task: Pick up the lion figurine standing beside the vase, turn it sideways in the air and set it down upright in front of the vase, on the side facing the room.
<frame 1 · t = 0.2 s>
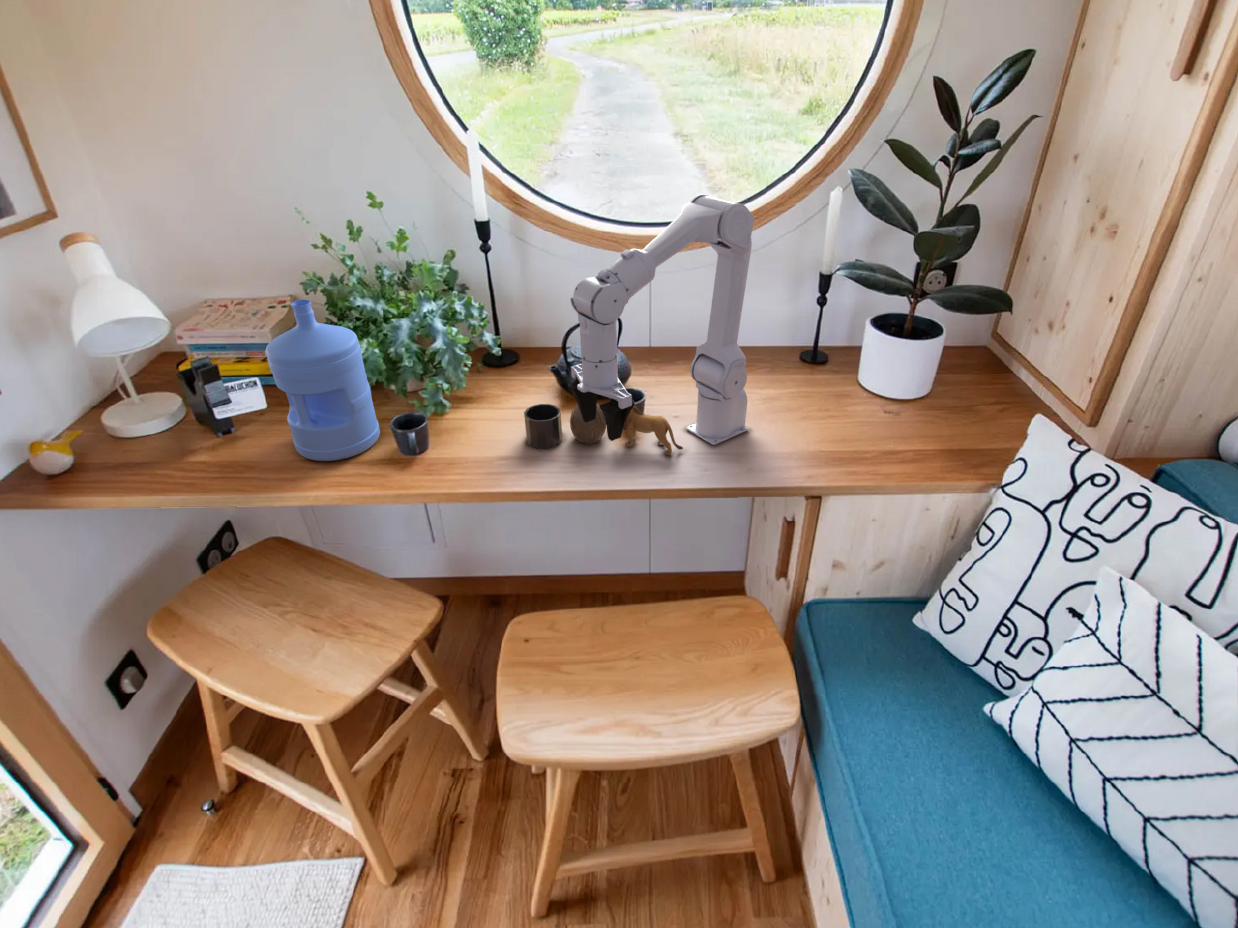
hand: (601, 429, 116), 10 cm above the table, tool pointing down, fingers open, 7 cm apart
water jug: (339, 442, 133), on the table
vase: (588, 439, 133), on the table
tea cup: (544, 439, 133), on the table
lion figurine: (642, 446, 130), on the table
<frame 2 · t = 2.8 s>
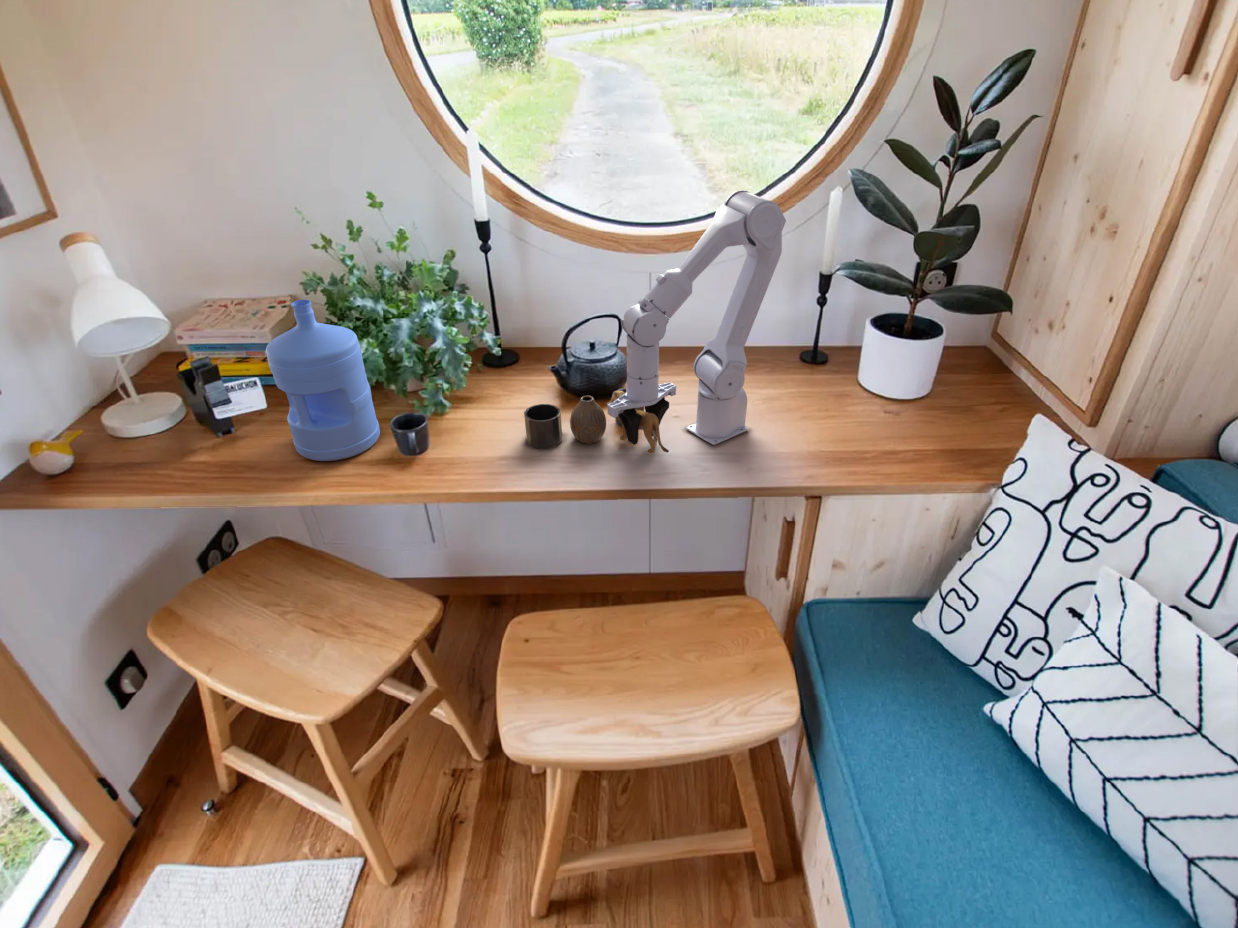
hand: (642, 438, 129), 2 cm above the table, tool pointing down, fingers closed on lion figurine, 4 cm apart
lion figurine: (634, 443, 130), on the table, touching gripper
everything else where it was.
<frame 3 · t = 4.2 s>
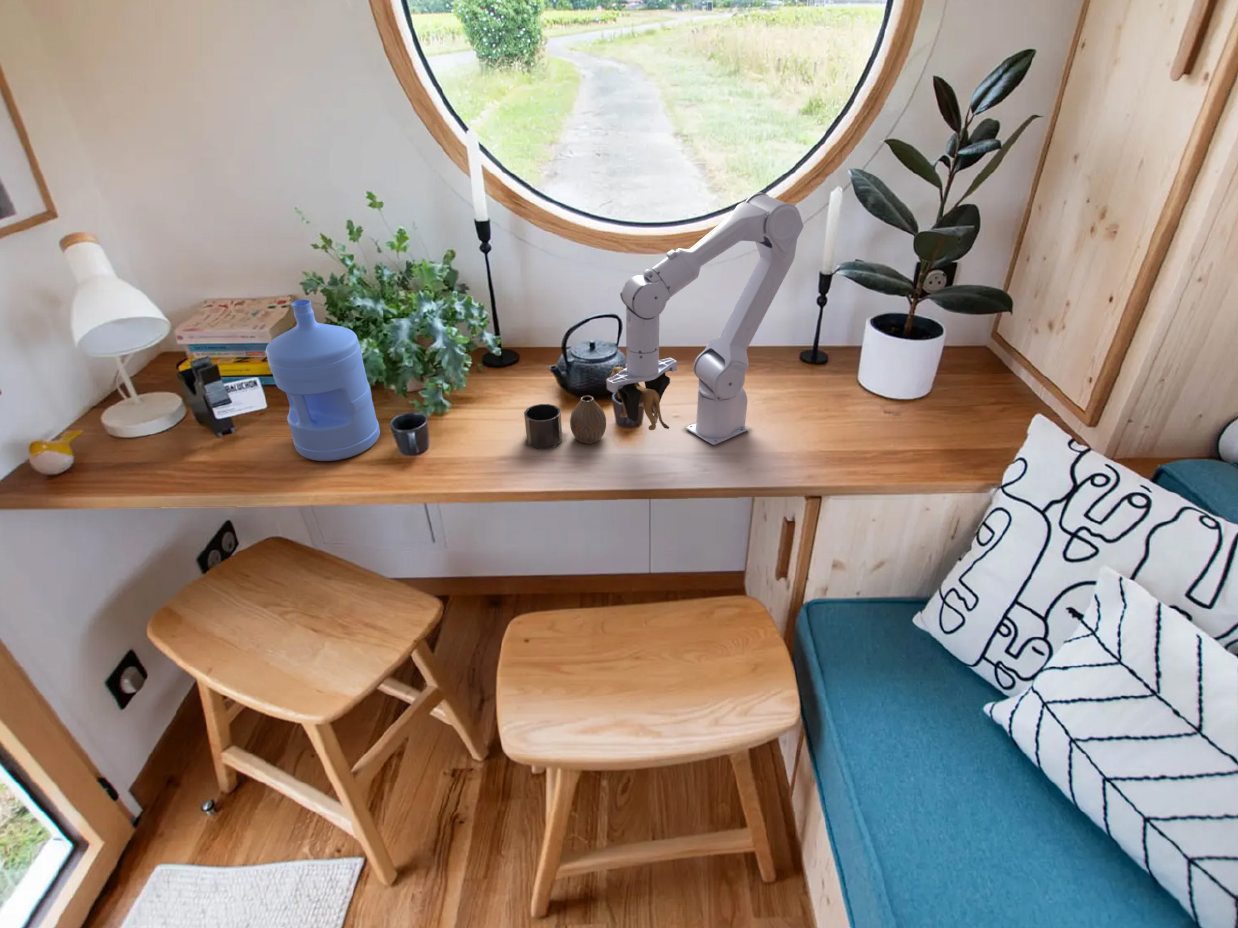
hand: (642, 415, 126), 7 cm above the table, tool pointing down, fingers closed on lion figurine, 4 cm apart
lion figurine: (634, 421, 127), point 5 cm above the table, touching gripper
everything else where it was.
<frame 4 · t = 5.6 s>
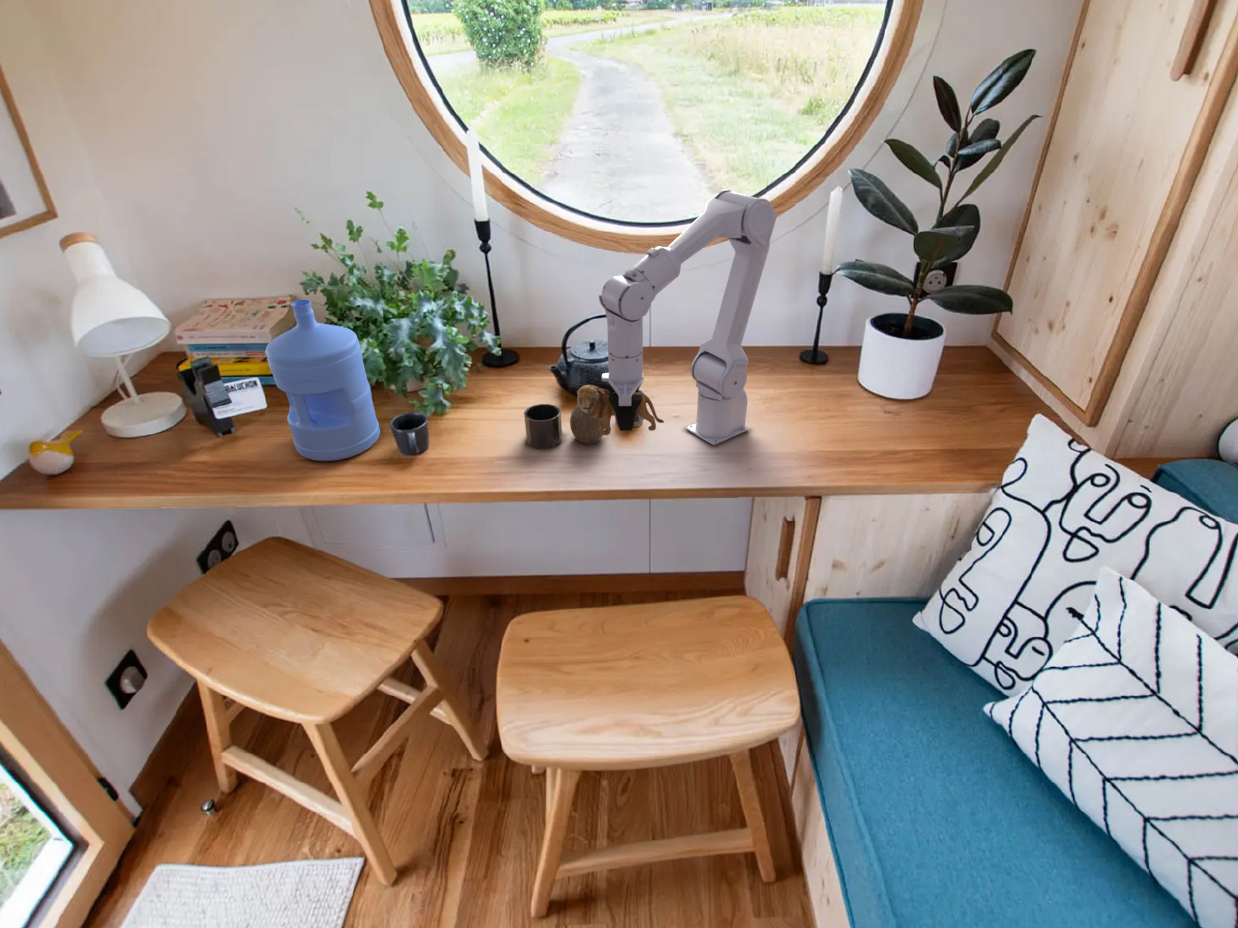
hand: (626, 423, 120), 9 cm above the table, tool pointing down, fingers closed on lion figurine, 4 cm apart
lion figurine: (620, 432, 119), point 8 cm above the table, touching gripper
everything else where it was.
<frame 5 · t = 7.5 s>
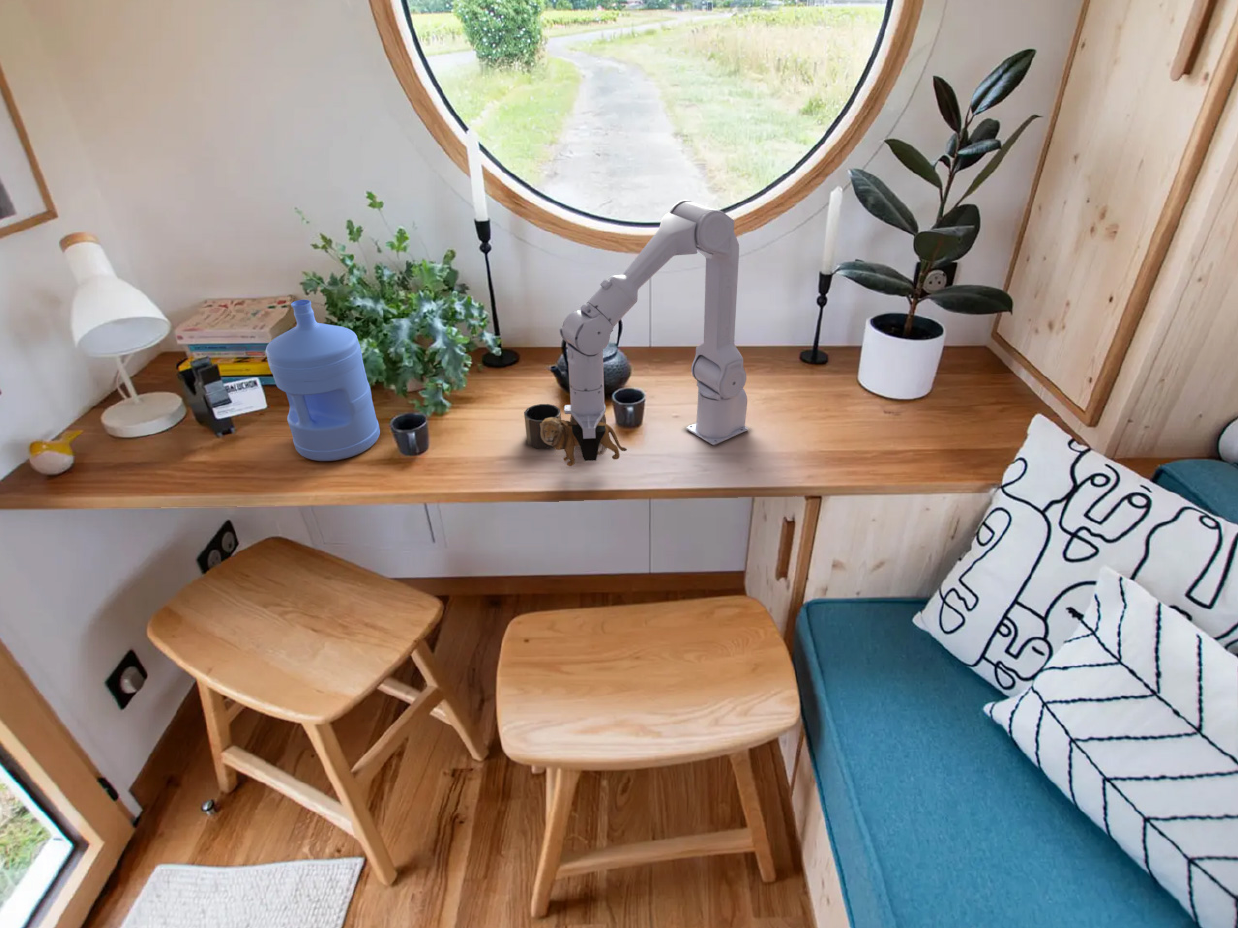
hand: (589, 452, 121), 4 cm above the table, tool pointing down, fingers closed on lion figurine, 4 cm apart
lion figurine: (584, 462, 121), point 3 cm above the table, touching gripper
everything else where it was.
when the fingers open (2 cm above the table, at t = 8.6 s): lion figurine stays where it is, on the table.
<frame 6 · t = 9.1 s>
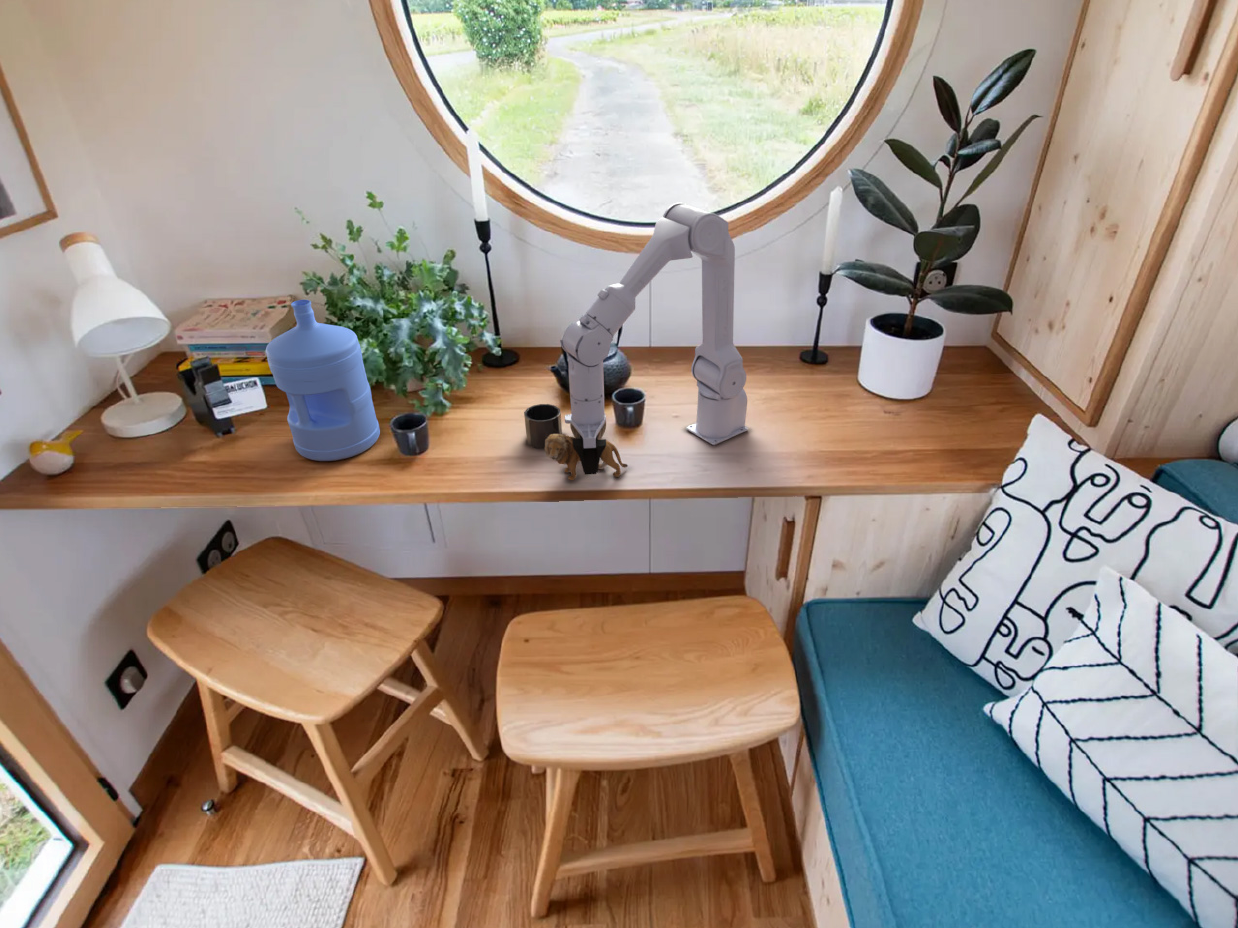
hand: (590, 461, 122), 2 cm above the table, tool pointing down, fingers open, 7 cm apart
lion figurine: (585, 476, 122), on the table
everything else where it was.
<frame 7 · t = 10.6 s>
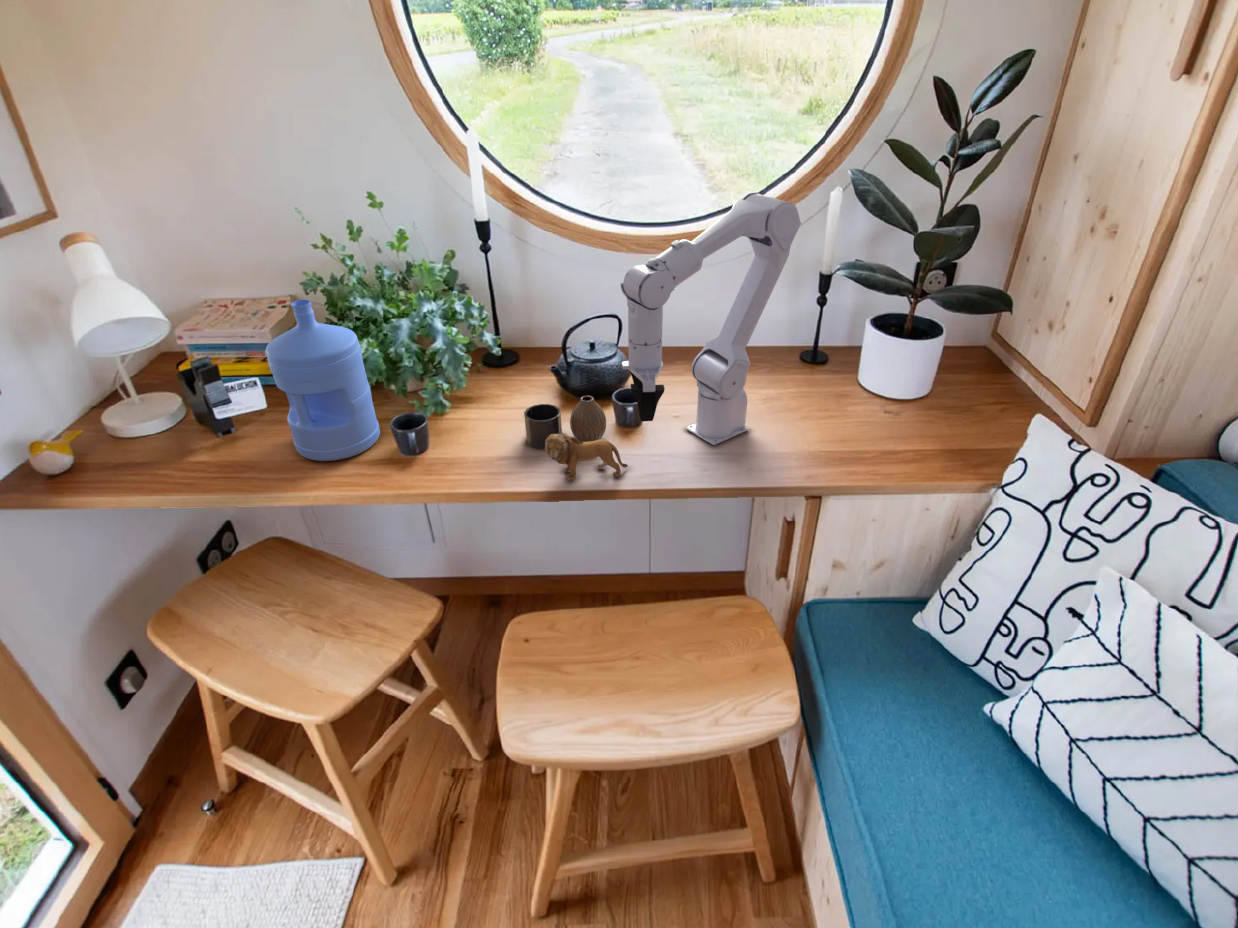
hand: (644, 409, 123), 9 cm above the table, tool pointing down, fingers open, 7 cm apart
nothing on the table moved.
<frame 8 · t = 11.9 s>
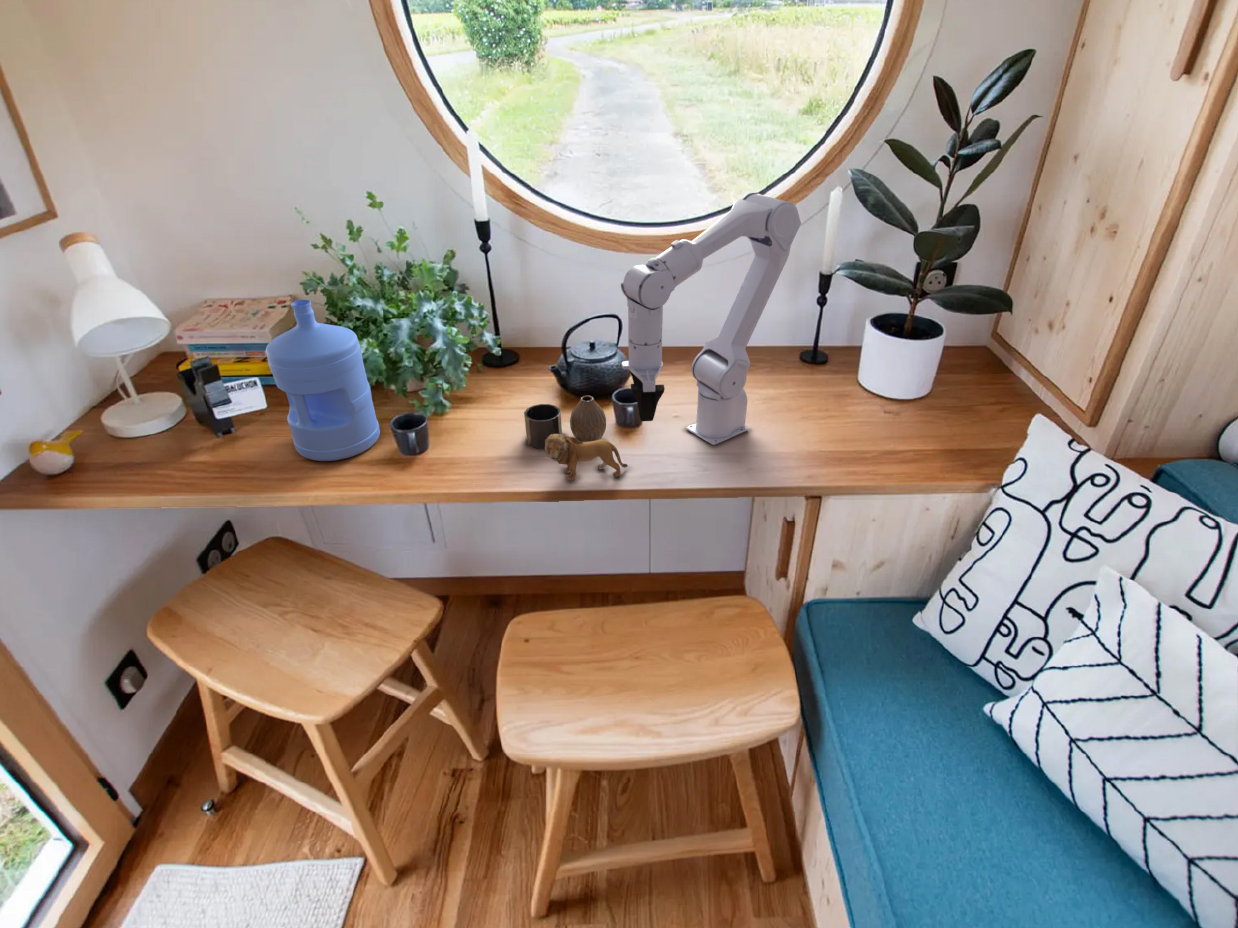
hand: (644, 409, 123), 9 cm above the table, tool pointing down, fingers open, 7 cm apart
nothing on the table moved.
at the end: lion figurine inside the target area on the table beside the vase (1.3 cm from its centre), on the table; lion figurine tilted 0°; vase moved 0.2 cm from its start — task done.
